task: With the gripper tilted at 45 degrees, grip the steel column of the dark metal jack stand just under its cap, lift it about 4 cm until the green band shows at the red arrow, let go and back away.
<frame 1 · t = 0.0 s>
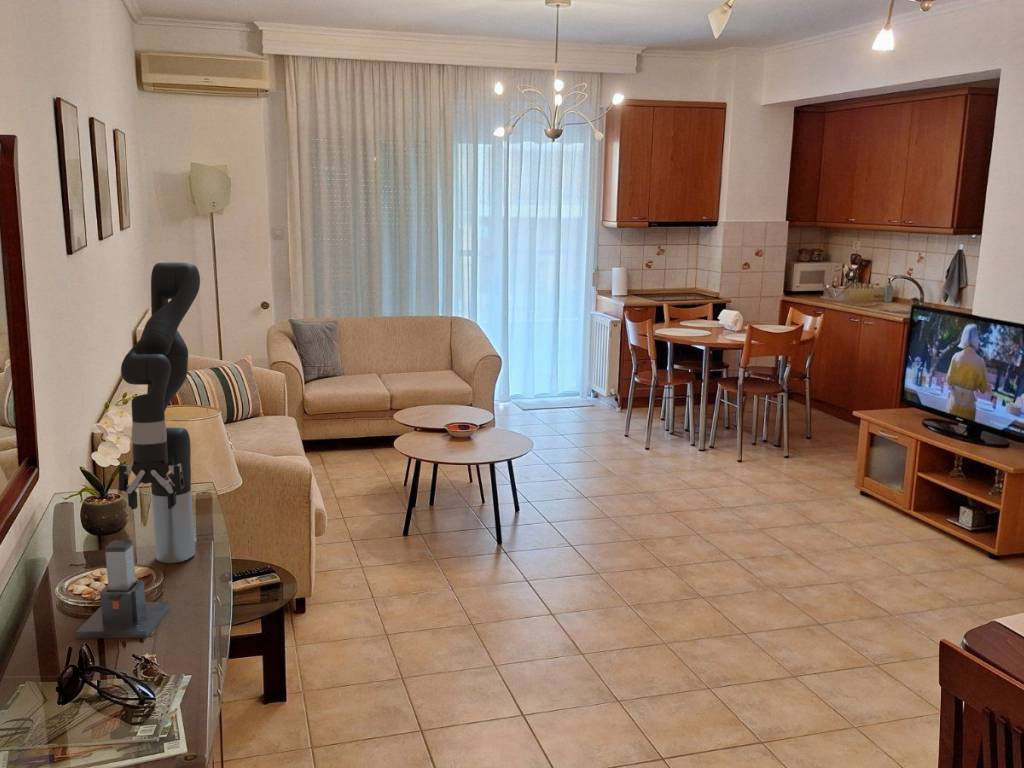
hand: (152, 508, 212), 17 cm above the table, tool pointing down, fingers open, 8 cm apart
jack stand: (125, 622, 191), on the table
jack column: (121, 579, 189), point 10 cm above the table, slide at 0.0 cm
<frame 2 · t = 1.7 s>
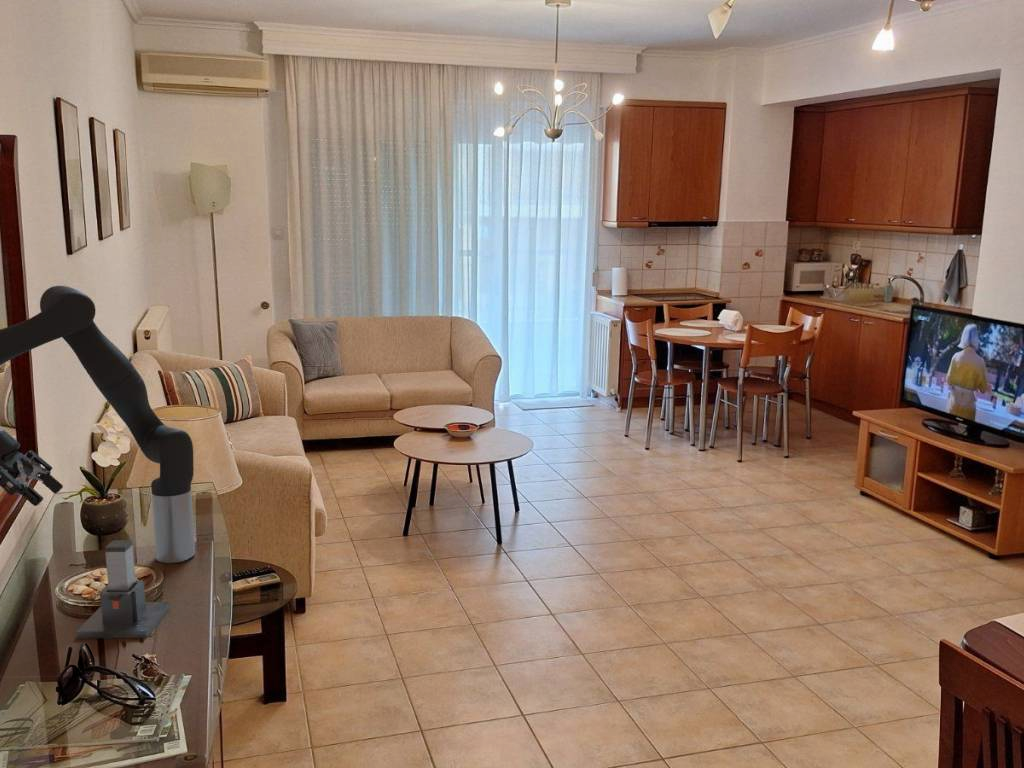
hand: (50, 496, 187), 27 cm above the table, tool tilted 45°, fingers open, 8 cm apart
nothing on the table moved.
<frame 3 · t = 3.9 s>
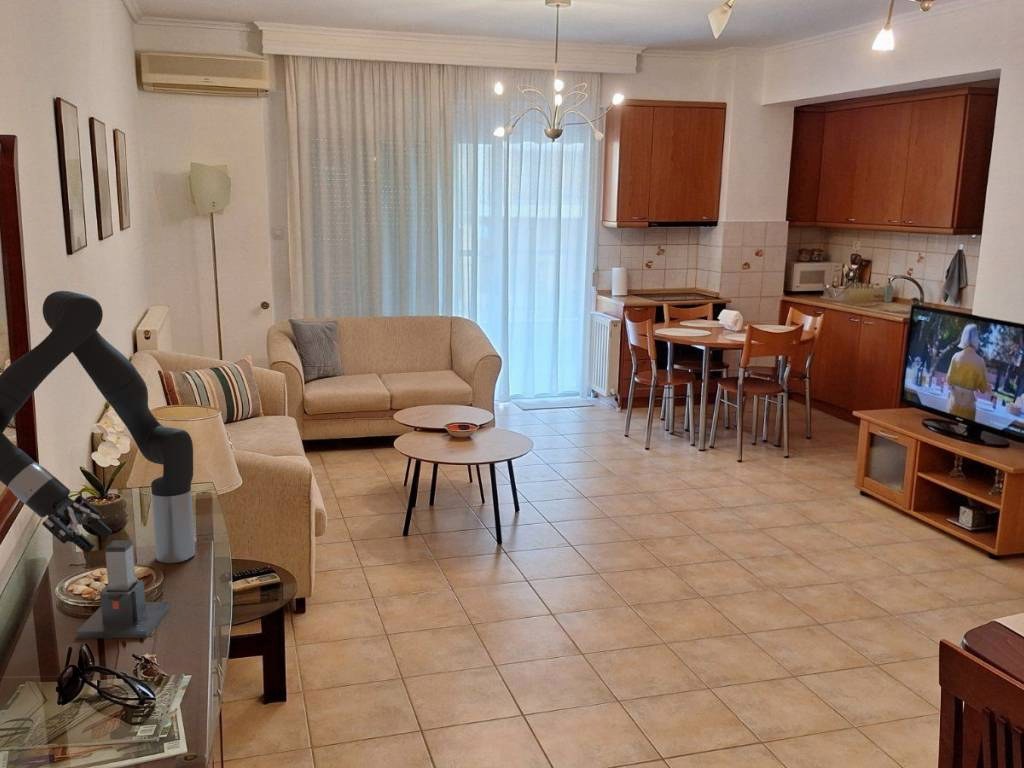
hand: (100, 542, 187), 18 cm above the table, tool tilted 45°, fingers open, 8 cm apart
nothing on the table moved.
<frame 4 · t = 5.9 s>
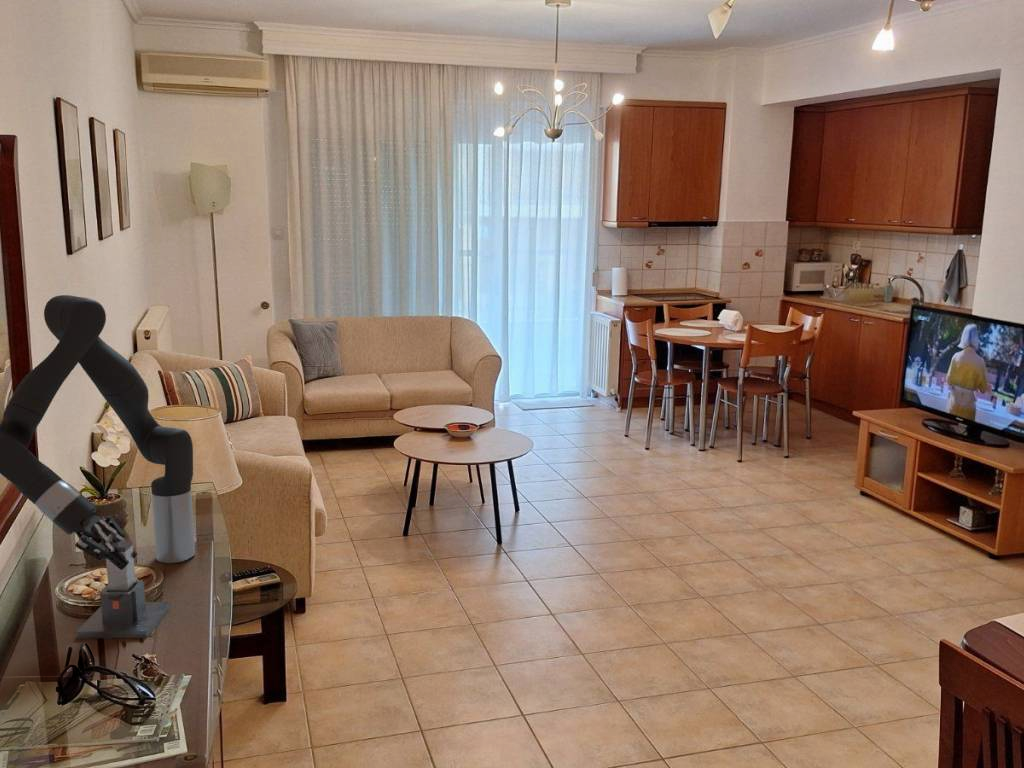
hand: (129, 561, 188), 14 cm above the table, tool tilted 45°, fingers closed on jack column, 4 cm apart
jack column: (121, 579, 189), point 10 cm above the table, slide at 0.0 cm, touching gripper
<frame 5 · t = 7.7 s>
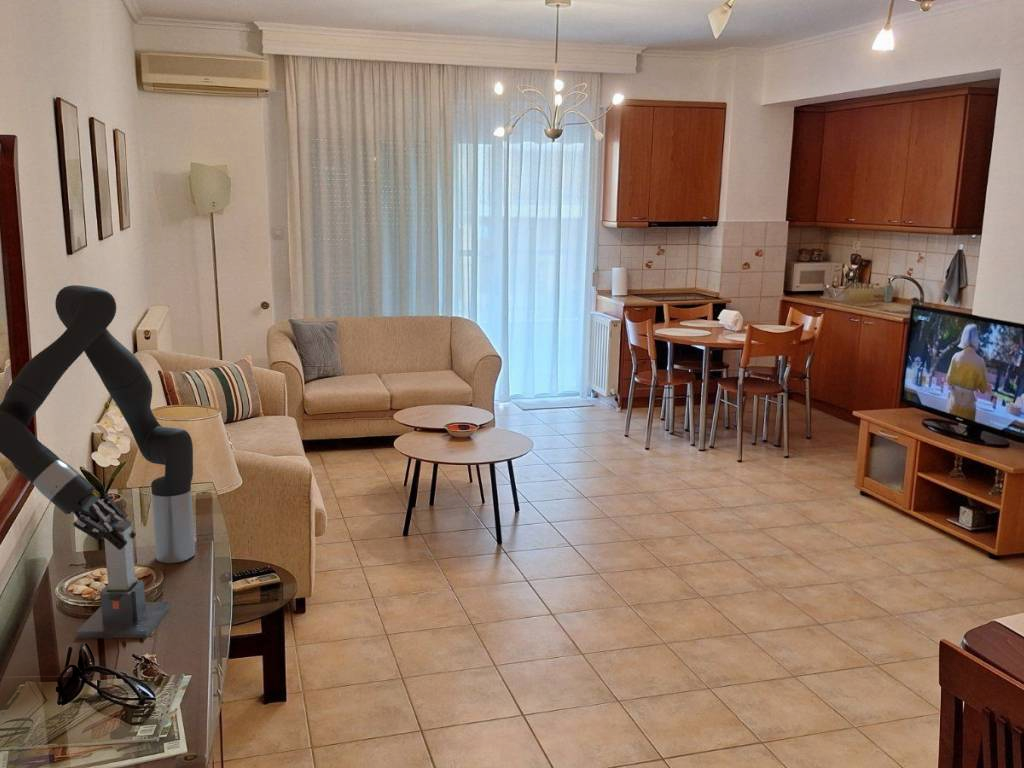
hand: (128, 542, 187), 18 cm above the table, tool tilted 45°, fingers closed on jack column, 4 cm apart
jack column: (120, 560, 188), point 14 cm above the table, slide at 4.3 cm, touching gripper
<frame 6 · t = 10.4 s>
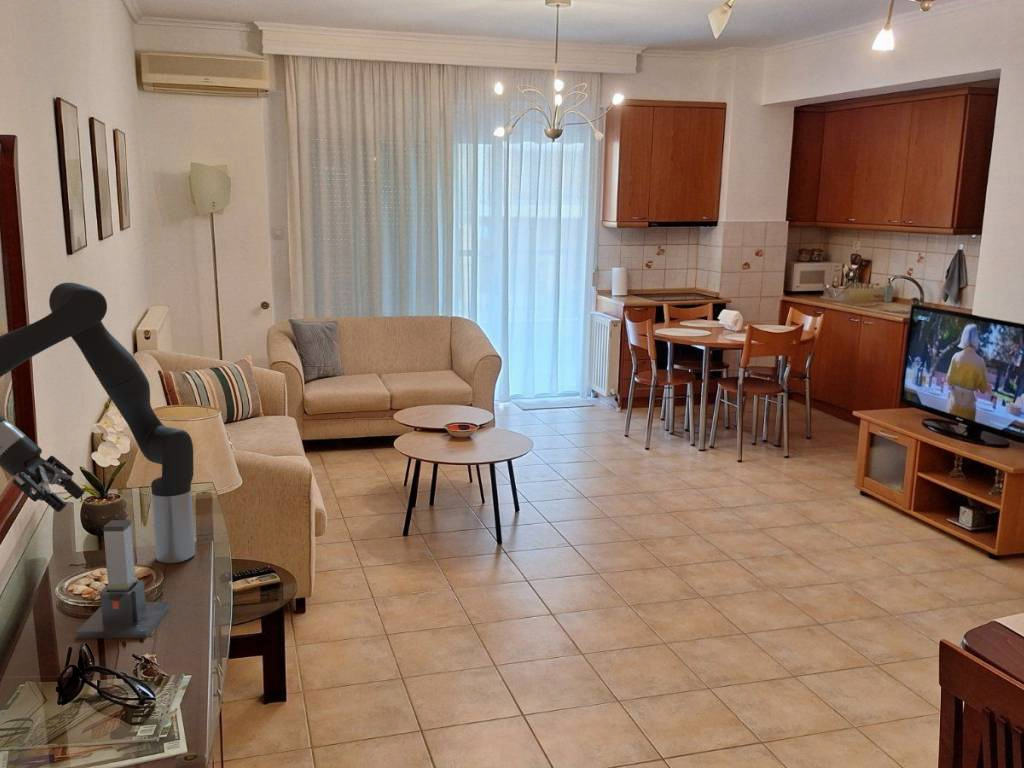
hand: (72, 502, 185), 27 cm above the table, tool tilted 45°, fingers open, 8 cm apart
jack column: (119, 559, 188), point 14 cm above the table, slide at 4.4 cm
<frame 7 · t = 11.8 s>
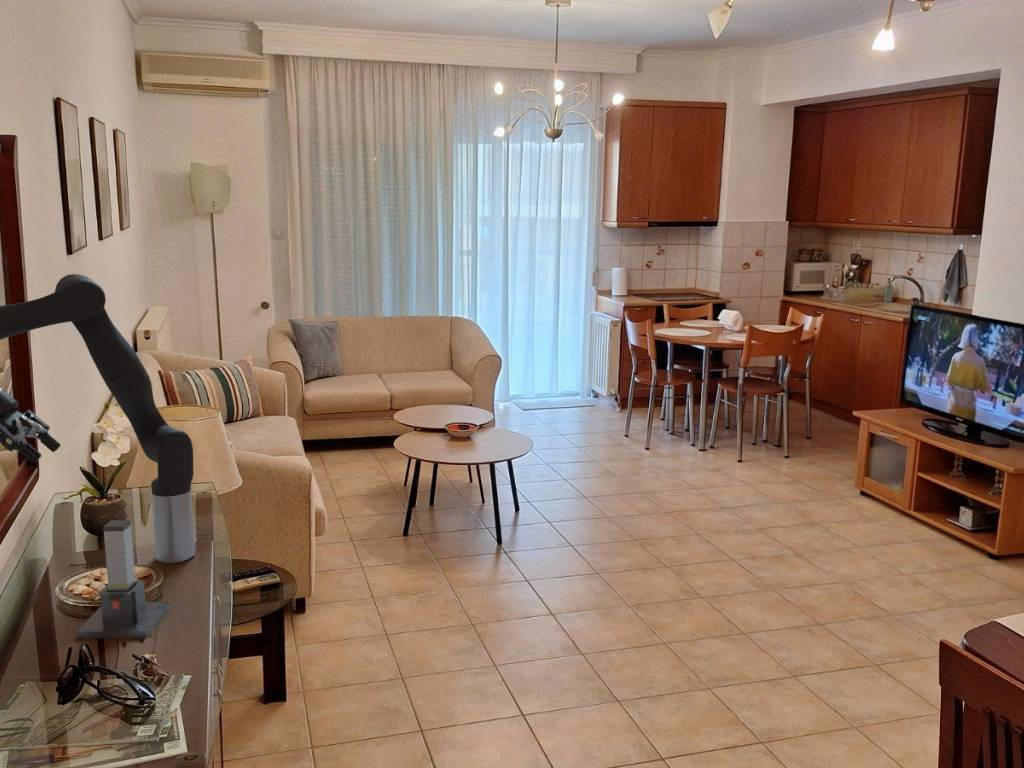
hand: (48, 454, 192), 35 cm above the table, tool tilted 45°, fingers open, 8 cm apart
nothing on the table moved.
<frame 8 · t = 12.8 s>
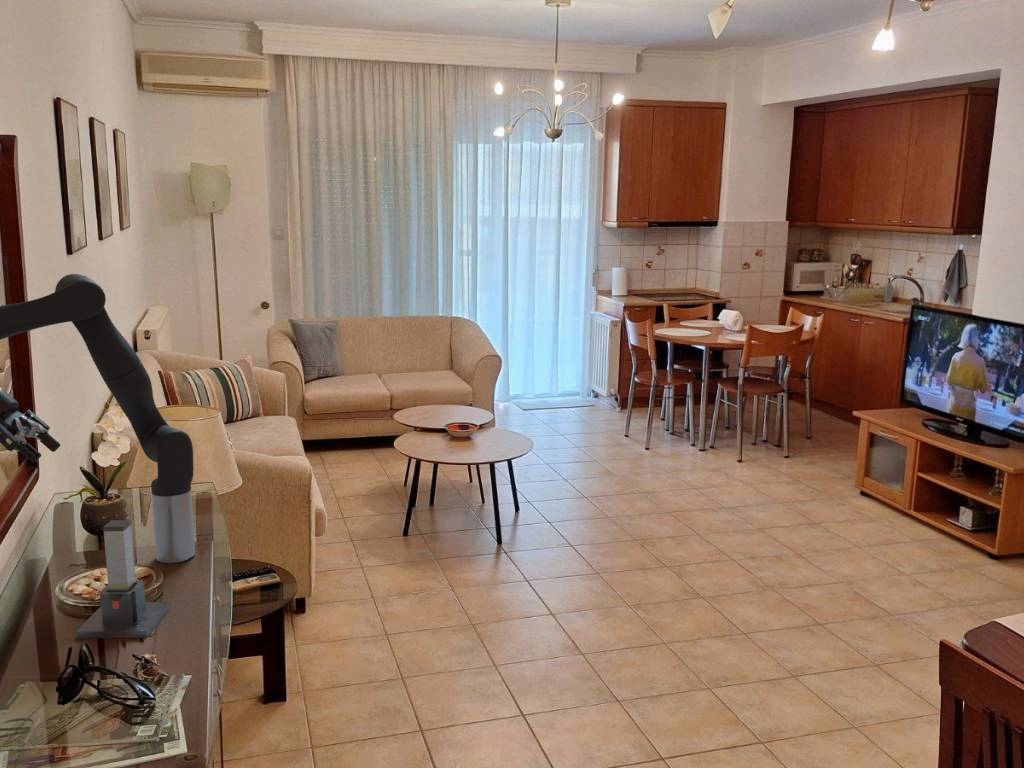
hand: (47, 453, 192), 35 cm above the table, tool tilted 45°, fingers open, 8 cm apart
nothing on the table moved.
at the end: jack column slide at 4.4 cm; the gripper is holding nothing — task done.
